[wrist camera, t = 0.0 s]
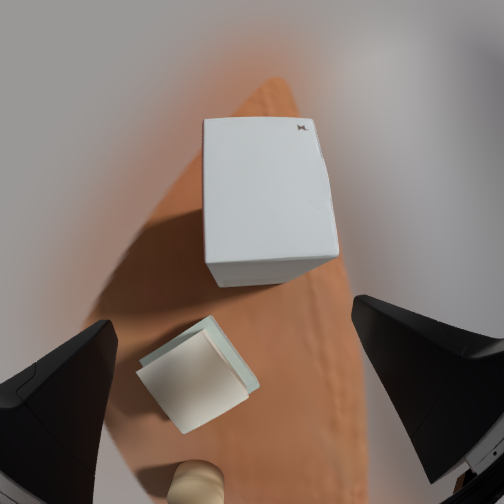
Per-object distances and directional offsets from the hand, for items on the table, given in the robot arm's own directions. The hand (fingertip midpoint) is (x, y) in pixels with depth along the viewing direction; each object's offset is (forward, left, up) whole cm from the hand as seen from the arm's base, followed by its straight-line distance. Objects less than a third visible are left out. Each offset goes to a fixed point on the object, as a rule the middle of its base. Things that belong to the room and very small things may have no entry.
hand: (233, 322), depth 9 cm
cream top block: (-2, +5, -12) cm, 13 cm away
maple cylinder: (-12, +13, -15) cm, 23 cm away
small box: (+5, -5, -15) cm, 17 cm away
